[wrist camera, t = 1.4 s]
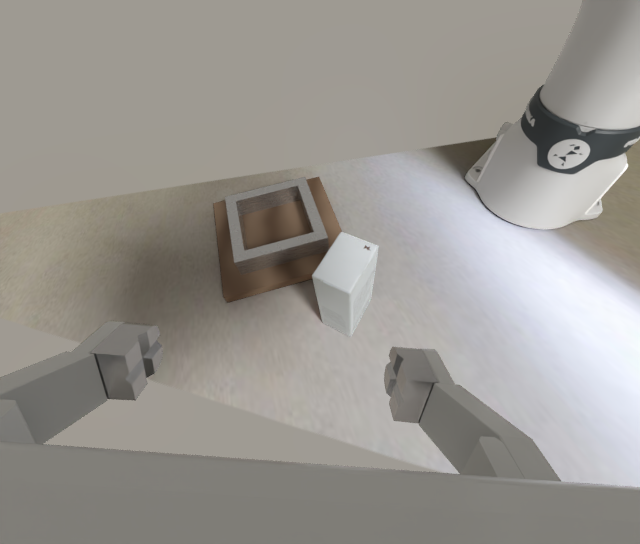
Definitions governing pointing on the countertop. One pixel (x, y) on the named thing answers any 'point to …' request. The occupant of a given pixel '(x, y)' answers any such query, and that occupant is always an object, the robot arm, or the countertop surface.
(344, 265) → the skincare box
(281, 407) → the countertop surface
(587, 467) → the countertop surface
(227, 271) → the socket board
